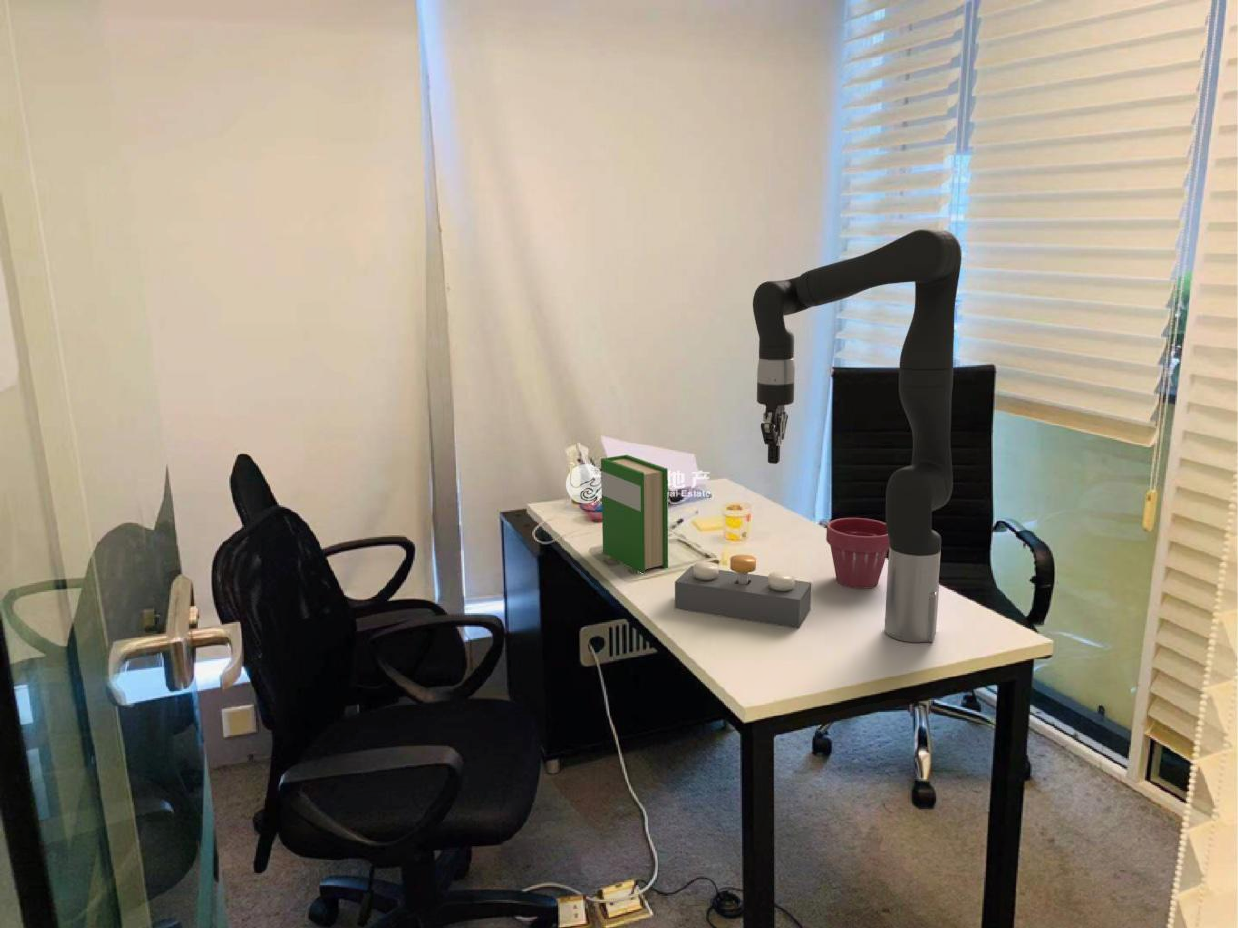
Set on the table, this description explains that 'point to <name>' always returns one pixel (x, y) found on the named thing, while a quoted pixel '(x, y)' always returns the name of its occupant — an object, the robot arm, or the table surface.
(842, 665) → the table surface
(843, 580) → the plant pot
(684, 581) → the control block
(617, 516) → the hardback book
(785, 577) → the near knob
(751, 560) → the middle knob
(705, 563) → the far knob
